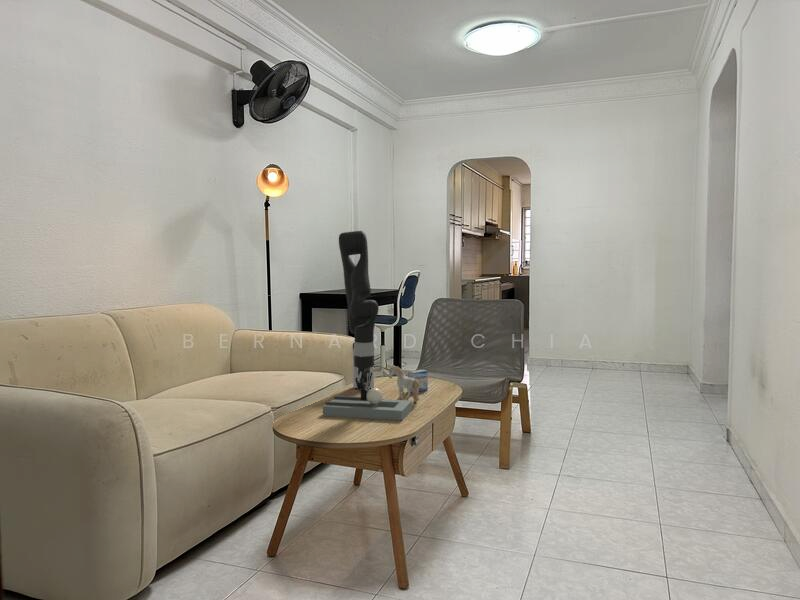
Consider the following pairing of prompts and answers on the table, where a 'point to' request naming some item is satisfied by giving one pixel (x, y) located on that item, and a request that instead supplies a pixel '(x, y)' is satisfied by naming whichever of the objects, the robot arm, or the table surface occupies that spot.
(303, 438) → the table surface
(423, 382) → the medicine box
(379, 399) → the plastic ball
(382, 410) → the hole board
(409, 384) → the unicorn figurine
